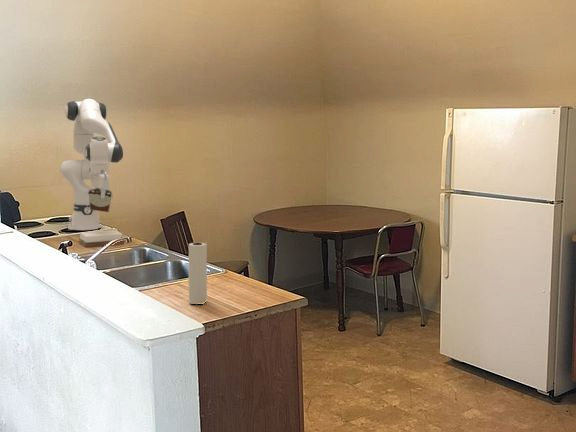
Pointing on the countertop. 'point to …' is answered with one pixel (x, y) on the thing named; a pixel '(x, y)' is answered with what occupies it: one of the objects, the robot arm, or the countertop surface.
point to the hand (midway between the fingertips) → (100, 197)
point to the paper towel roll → (197, 273)
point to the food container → (99, 200)
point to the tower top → (100, 236)
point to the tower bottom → (97, 243)
